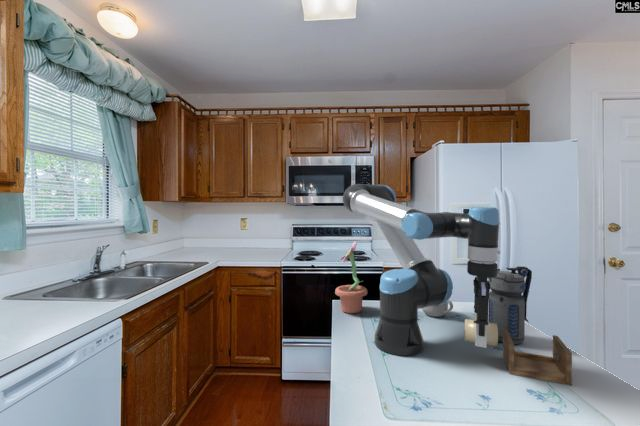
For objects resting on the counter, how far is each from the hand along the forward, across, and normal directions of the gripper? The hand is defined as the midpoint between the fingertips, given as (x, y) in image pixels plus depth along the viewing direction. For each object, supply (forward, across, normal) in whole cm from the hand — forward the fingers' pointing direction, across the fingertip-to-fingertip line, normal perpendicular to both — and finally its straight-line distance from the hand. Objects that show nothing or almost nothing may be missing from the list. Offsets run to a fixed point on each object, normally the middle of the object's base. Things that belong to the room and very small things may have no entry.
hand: (479, 341), depth 85 cm
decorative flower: (+7, +26, +47) cm, 54 cm away
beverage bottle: (+6, +20, -10) cm, 23 cm away
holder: (+5, 0, -13) cm, 14 cm away
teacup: (+7, +34, +13) cm, 36 cm away
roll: (-3, 0, 0) cm, 3 cm away
